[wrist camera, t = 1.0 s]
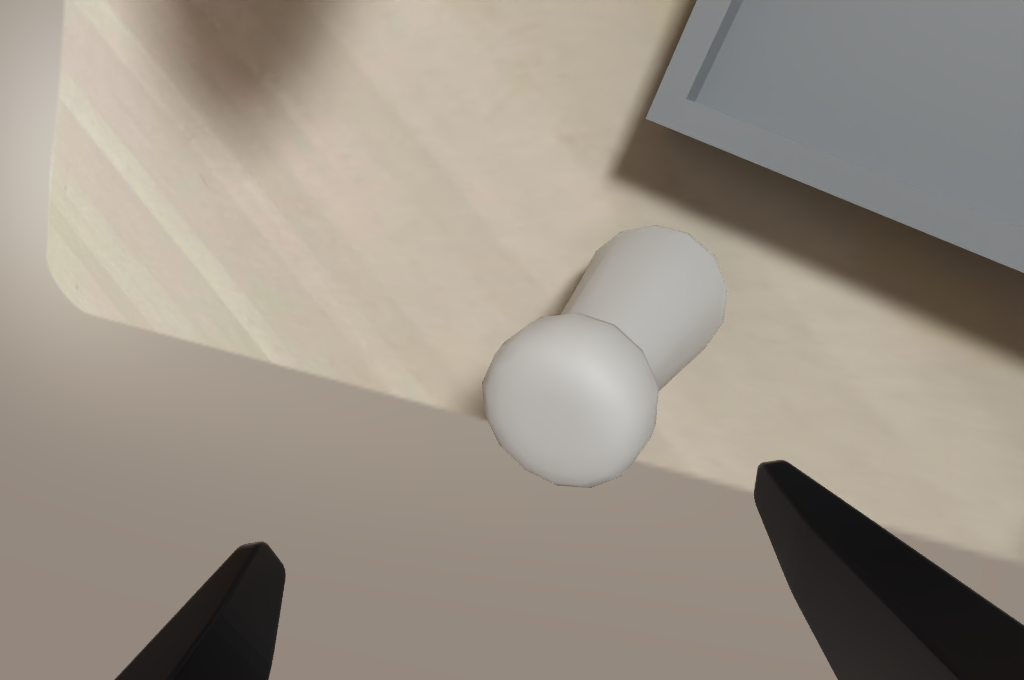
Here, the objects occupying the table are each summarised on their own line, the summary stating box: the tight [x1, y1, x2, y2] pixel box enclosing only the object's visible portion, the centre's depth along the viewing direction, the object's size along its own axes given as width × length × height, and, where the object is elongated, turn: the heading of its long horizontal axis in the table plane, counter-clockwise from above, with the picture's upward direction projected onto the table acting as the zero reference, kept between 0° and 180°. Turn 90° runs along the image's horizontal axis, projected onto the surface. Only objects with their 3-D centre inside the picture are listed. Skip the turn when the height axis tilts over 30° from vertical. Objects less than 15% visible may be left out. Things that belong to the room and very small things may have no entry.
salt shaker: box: [482, 226, 727, 488], centre depth 17 cm, size 6×6×13 cm
